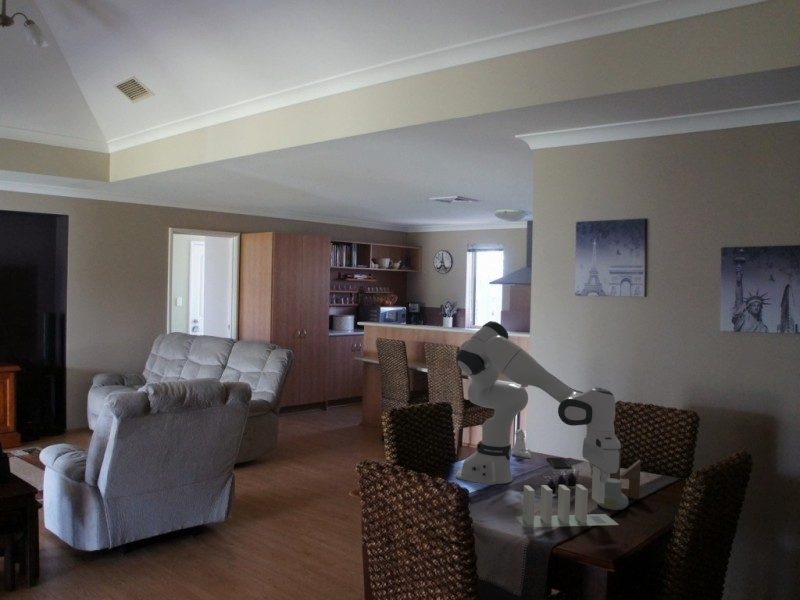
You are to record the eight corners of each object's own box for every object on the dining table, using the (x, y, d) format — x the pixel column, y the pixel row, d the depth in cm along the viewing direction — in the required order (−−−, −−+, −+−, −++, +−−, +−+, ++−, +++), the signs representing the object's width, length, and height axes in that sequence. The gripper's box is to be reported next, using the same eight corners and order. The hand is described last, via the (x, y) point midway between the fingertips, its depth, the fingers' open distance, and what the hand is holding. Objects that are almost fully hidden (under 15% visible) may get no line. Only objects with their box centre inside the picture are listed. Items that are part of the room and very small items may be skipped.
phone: (563, 457, 304) (572, 467, 289) (563, 460, 304) (572, 469, 289) (546, 457, 304) (553, 466, 289) (545, 460, 304) (553, 469, 289)
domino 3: (563, 523, 220) (565, 490, 220) (557, 517, 226) (558, 484, 226) (569, 523, 221) (570, 490, 220) (562, 517, 226) (563, 484, 226)
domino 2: (546, 524, 220) (547, 490, 219) (540, 518, 225) (541, 485, 225) (551, 524, 220) (552, 490, 219) (545, 517, 225) (546, 485, 225)
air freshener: (630, 508, 241) (631, 480, 240) (625, 515, 233) (626, 486, 233) (599, 502, 246) (600, 475, 246) (593, 508, 239) (594, 480, 239)
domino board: (524, 530, 216) (524, 527, 216) (514, 519, 226) (514, 516, 226) (618, 527, 221) (619, 524, 221) (605, 516, 231) (605, 513, 231)
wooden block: (639, 499, 251) (641, 451, 250) (608, 496, 253) (610, 448, 252) (638, 496, 254) (640, 448, 253) (608, 493, 257) (610, 446, 256)
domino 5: (598, 503, 222) (600, 469, 222) (591, 497, 227) (592, 465, 227) (604, 503, 222) (605, 469, 222) (596, 497, 228) (598, 465, 227)
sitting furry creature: (530, 458, 304) (531, 431, 304) (511, 457, 306) (512, 430, 305) (530, 453, 314) (531, 427, 313) (511, 452, 315) (512, 426, 315)
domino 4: (581, 523, 221) (582, 489, 221) (574, 517, 227) (575, 484, 227) (586, 523, 222) (587, 489, 221) (579, 517, 227) (580, 484, 227)
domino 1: (528, 524, 219) (529, 490, 218) (522, 518, 224) (523, 485, 224) (533, 524, 219) (534, 490, 219) (527, 518, 224) (529, 485, 224)
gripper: (578, 430, 234) (576, 470, 234) (604, 445, 214) (602, 488, 214) (595, 430, 235) (594, 470, 235) (623, 445, 215) (621, 488, 215)
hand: (598, 479), depth 225 cm, fingers closed on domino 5, 6 cm apart
